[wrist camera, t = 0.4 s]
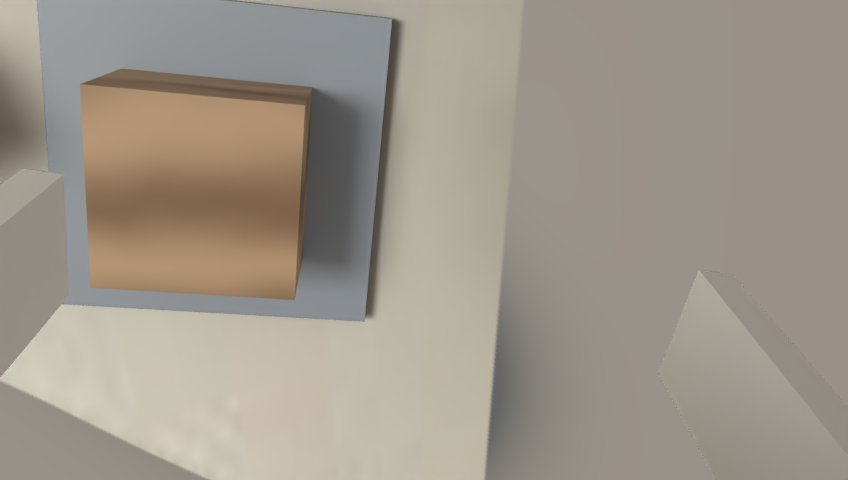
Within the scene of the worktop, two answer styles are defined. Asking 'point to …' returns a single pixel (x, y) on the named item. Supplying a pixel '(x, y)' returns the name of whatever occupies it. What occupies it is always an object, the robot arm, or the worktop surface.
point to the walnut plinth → (195, 183)
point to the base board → (240, 60)
